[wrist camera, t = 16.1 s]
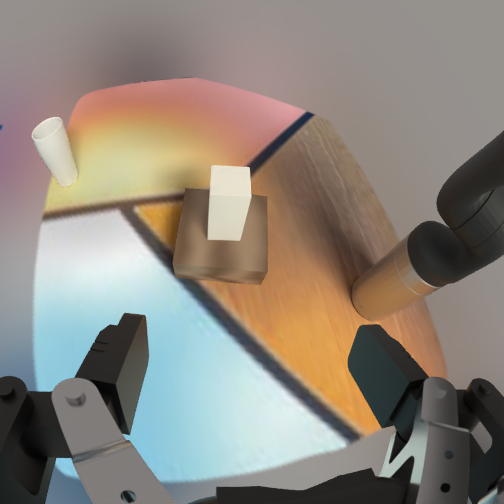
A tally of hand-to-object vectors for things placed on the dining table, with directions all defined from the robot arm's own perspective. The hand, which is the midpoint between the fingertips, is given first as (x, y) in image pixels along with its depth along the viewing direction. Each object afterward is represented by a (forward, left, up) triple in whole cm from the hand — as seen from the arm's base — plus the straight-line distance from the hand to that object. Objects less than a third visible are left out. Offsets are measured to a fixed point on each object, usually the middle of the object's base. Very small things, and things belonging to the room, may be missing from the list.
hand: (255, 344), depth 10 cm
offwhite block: (-4, -22, -28) cm, 36 cm away
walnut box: (-4, -22, -34) cm, 41 cm away
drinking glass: (+28, -41, -34) cm, 60 cm away
